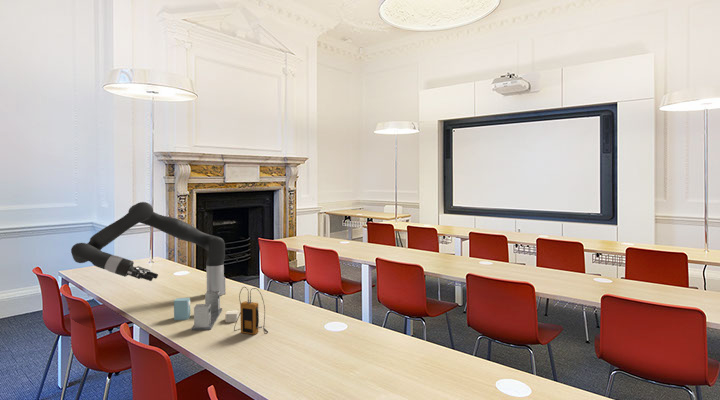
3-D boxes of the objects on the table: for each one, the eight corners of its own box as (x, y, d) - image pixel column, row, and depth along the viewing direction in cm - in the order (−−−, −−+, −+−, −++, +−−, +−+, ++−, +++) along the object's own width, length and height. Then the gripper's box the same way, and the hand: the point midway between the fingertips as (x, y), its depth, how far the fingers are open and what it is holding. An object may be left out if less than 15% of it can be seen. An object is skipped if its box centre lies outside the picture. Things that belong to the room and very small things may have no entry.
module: (177, 316, 187) (176, 298, 187) (191, 316, 188) (190, 297, 188) (174, 320, 183) (173, 301, 182) (188, 319, 184) (188, 300, 183)
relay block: (227, 319, 185) (227, 310, 185) (238, 318, 186) (238, 310, 186) (225, 322, 180) (225, 314, 180) (236, 322, 181) (236, 313, 181)
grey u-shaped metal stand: (205, 310, 196) (205, 291, 195) (222, 310, 197) (222, 290, 197) (191, 330, 170) (191, 307, 170) (211, 329, 171) (210, 306, 171)
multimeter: (275, 328, 173) (274, 283, 172) (262, 336, 164) (262, 289, 163) (246, 324, 178) (246, 280, 177) (233, 332, 169) (232, 286, 168)
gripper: (117, 259, 173) (154, 271, 176) (128, 256, 187) (162, 268, 190) (109, 275, 172) (147, 287, 175) (120, 271, 186) (155, 283, 189)
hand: (154, 277), depth 183 cm, fingers open, 8 cm apart
